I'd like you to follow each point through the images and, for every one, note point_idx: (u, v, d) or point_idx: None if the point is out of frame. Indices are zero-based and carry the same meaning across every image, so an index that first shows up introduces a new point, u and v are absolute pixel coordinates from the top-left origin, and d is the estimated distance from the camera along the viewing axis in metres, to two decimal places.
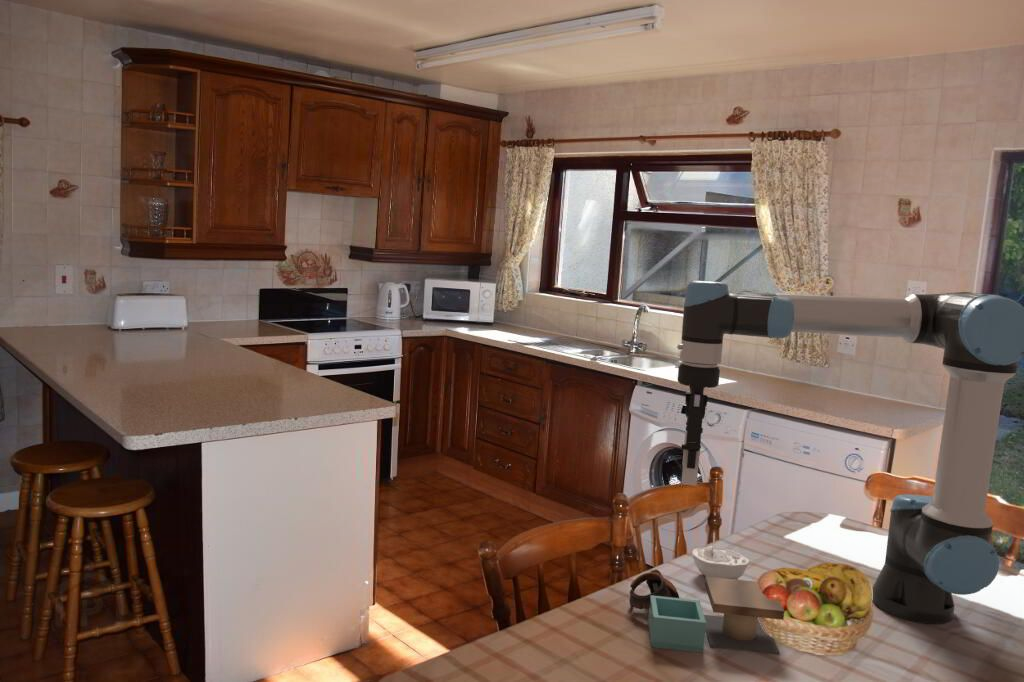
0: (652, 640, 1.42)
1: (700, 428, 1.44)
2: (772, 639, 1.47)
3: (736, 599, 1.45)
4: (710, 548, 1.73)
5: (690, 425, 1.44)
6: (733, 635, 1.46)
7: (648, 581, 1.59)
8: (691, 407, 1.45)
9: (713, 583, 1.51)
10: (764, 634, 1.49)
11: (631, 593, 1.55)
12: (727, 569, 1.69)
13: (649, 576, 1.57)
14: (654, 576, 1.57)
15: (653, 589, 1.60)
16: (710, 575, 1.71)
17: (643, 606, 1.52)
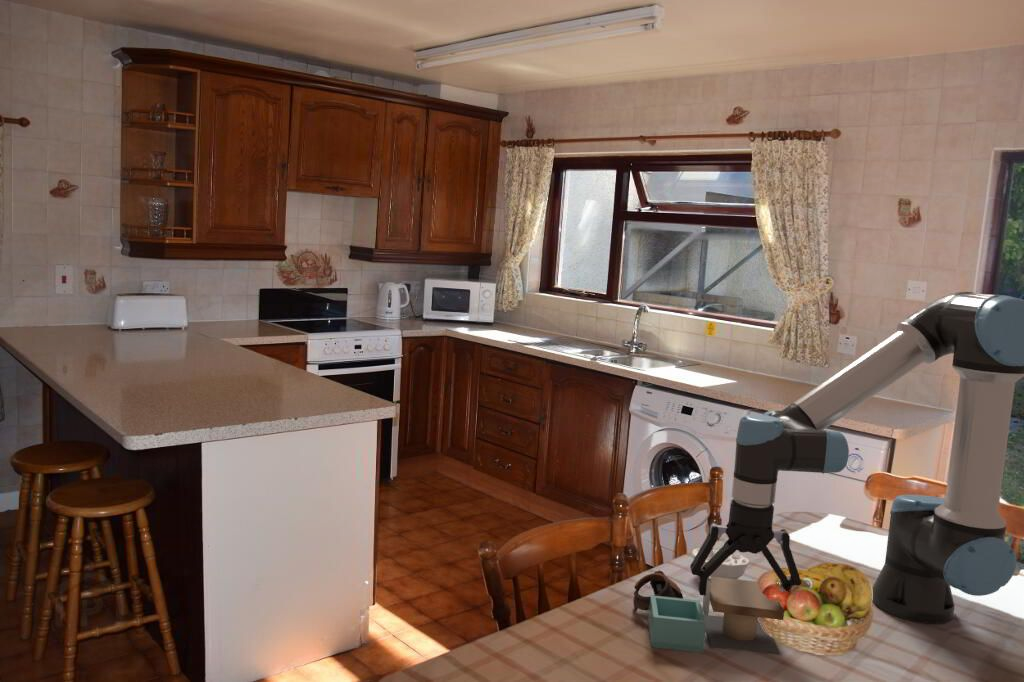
0: (652, 640, 1.42)
1: (700, 555, 1.47)
2: (772, 639, 1.47)
3: (736, 599, 1.45)
4: None
5: (700, 549, 1.49)
6: (733, 635, 1.46)
7: (651, 582, 1.59)
8: (708, 534, 1.48)
9: (713, 582, 1.51)
10: (764, 634, 1.49)
11: (635, 594, 1.54)
12: (727, 569, 1.69)
13: (653, 577, 1.57)
14: (658, 577, 1.56)
15: (657, 590, 1.60)
16: (710, 575, 1.71)
17: (647, 607, 1.52)
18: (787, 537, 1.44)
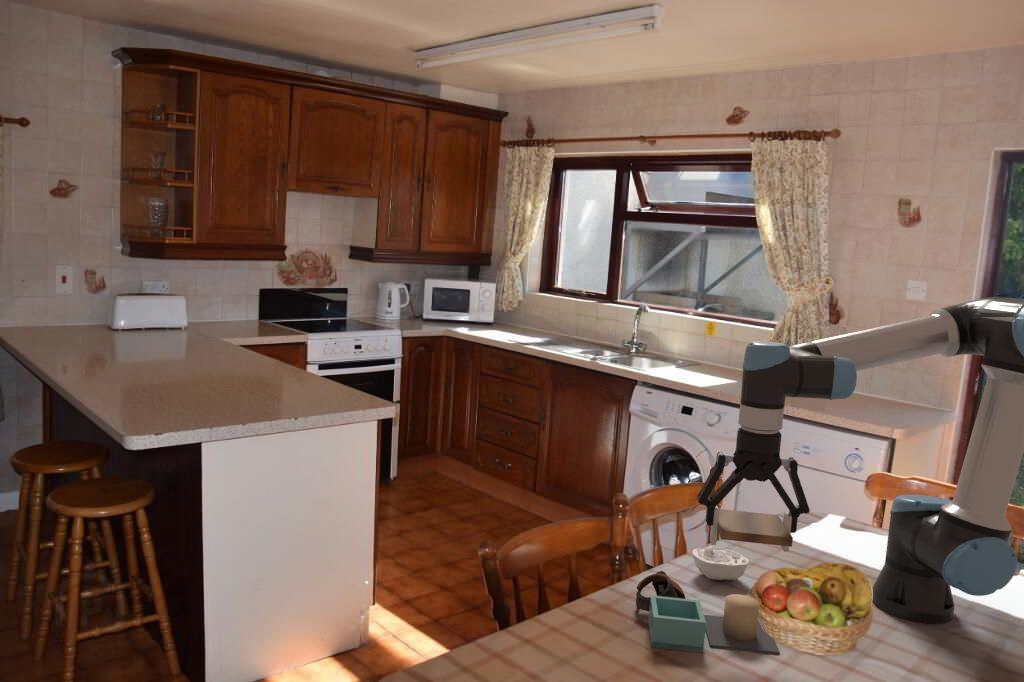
0: (652, 640, 1.42)
1: (707, 484, 1.45)
2: (772, 639, 1.47)
3: (744, 527, 1.43)
4: (710, 548, 1.73)
5: (707, 479, 1.47)
6: (733, 635, 1.46)
7: (653, 583, 1.59)
8: (715, 464, 1.46)
9: (720, 514, 1.50)
10: (764, 634, 1.49)
11: (638, 595, 1.54)
12: (727, 569, 1.69)
13: (655, 578, 1.57)
14: (660, 577, 1.56)
15: (659, 591, 1.60)
16: (710, 575, 1.71)
17: None
18: (795, 464, 1.43)
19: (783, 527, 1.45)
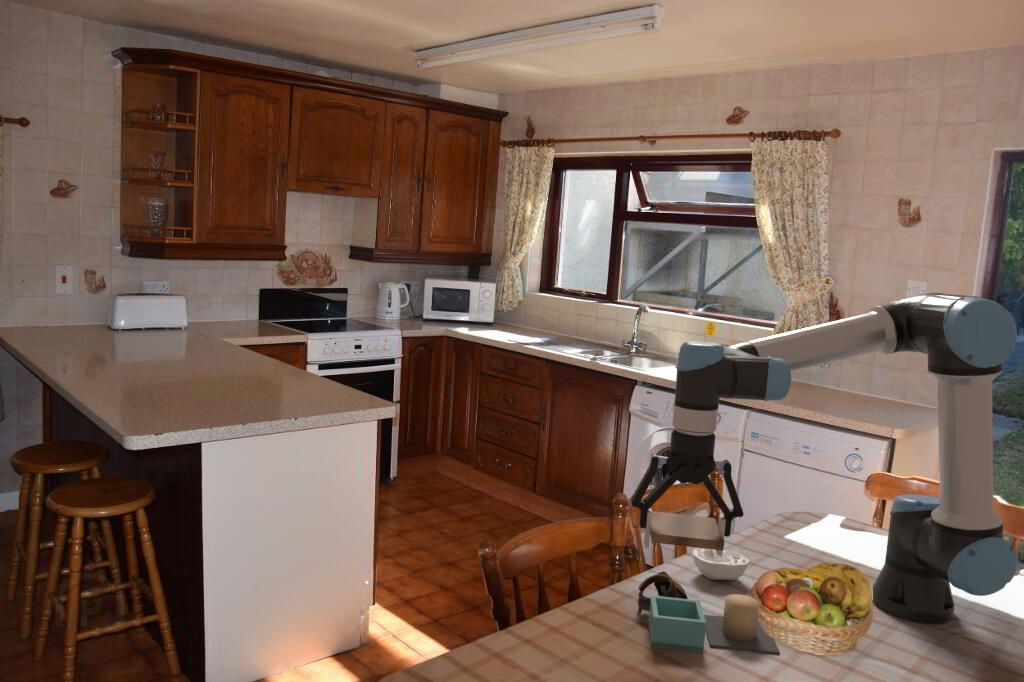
0: (652, 640, 1.42)
1: (640, 486, 1.42)
2: (772, 639, 1.47)
3: (676, 530, 1.40)
4: None
5: None
6: (733, 635, 1.46)
7: (655, 583, 1.59)
8: None
9: (655, 516, 1.47)
10: (764, 634, 1.49)
11: (640, 595, 1.54)
12: (727, 569, 1.69)
13: (657, 578, 1.57)
14: (662, 578, 1.56)
15: (661, 591, 1.59)
16: (710, 575, 1.71)
17: None
18: (729, 467, 1.40)
19: (717, 530, 1.42)
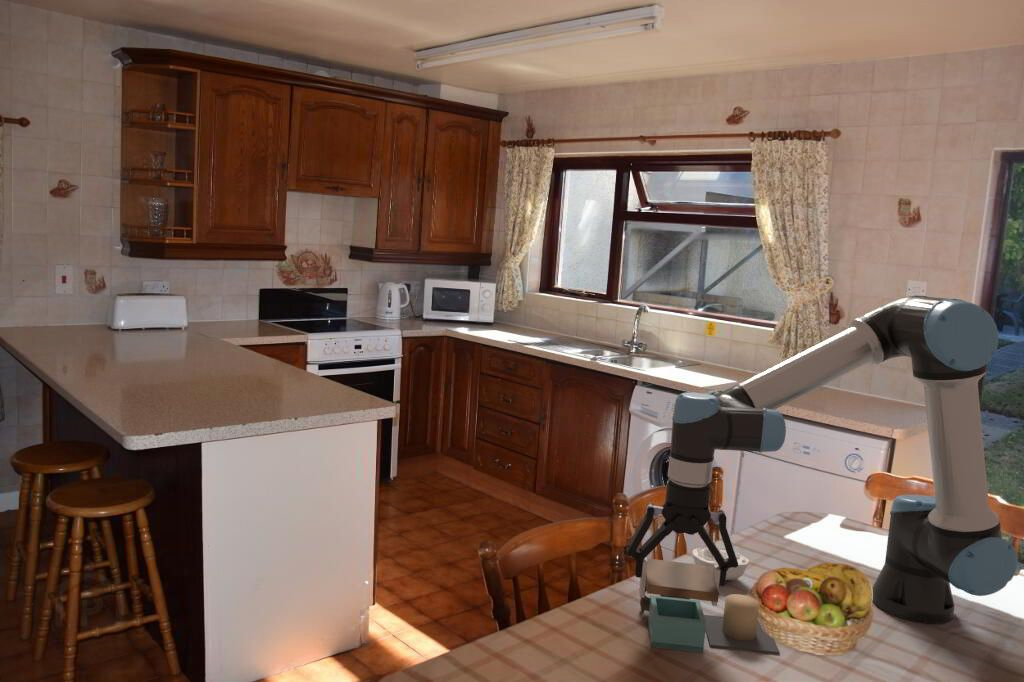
0: (652, 640, 1.42)
1: (635, 536, 1.44)
2: (772, 639, 1.47)
3: (671, 580, 1.42)
4: None
5: (636, 531, 1.45)
6: (733, 635, 1.46)
7: None
8: (645, 515, 1.45)
9: (650, 565, 1.48)
10: (764, 634, 1.49)
11: None
12: None
13: None
14: None
15: None
16: None
17: None
18: (724, 518, 1.41)
19: (712, 580, 1.43)
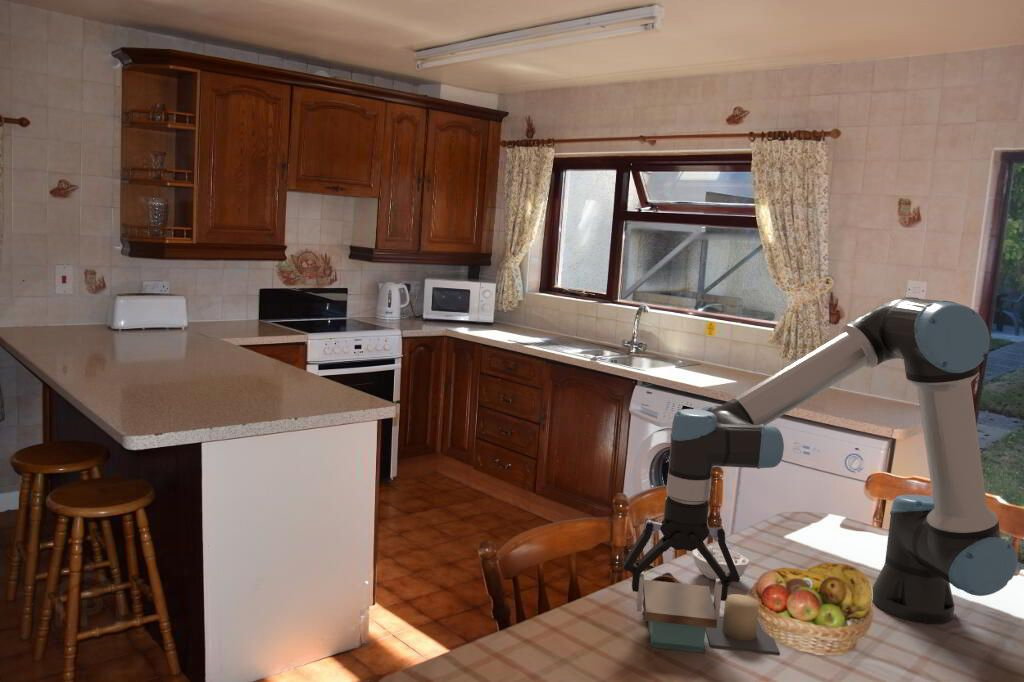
0: (652, 640, 1.42)
1: (633, 551, 1.44)
2: (772, 639, 1.47)
3: (670, 606, 1.42)
4: (710, 548, 1.73)
5: (634, 545, 1.46)
6: (733, 635, 1.46)
7: None
8: (643, 530, 1.45)
9: (649, 588, 1.48)
10: (764, 634, 1.49)
11: None
12: (727, 569, 1.69)
13: (662, 579, 1.56)
14: (667, 579, 1.56)
15: None
16: (710, 575, 1.71)
17: None
18: (722, 533, 1.42)
19: (710, 604, 1.43)
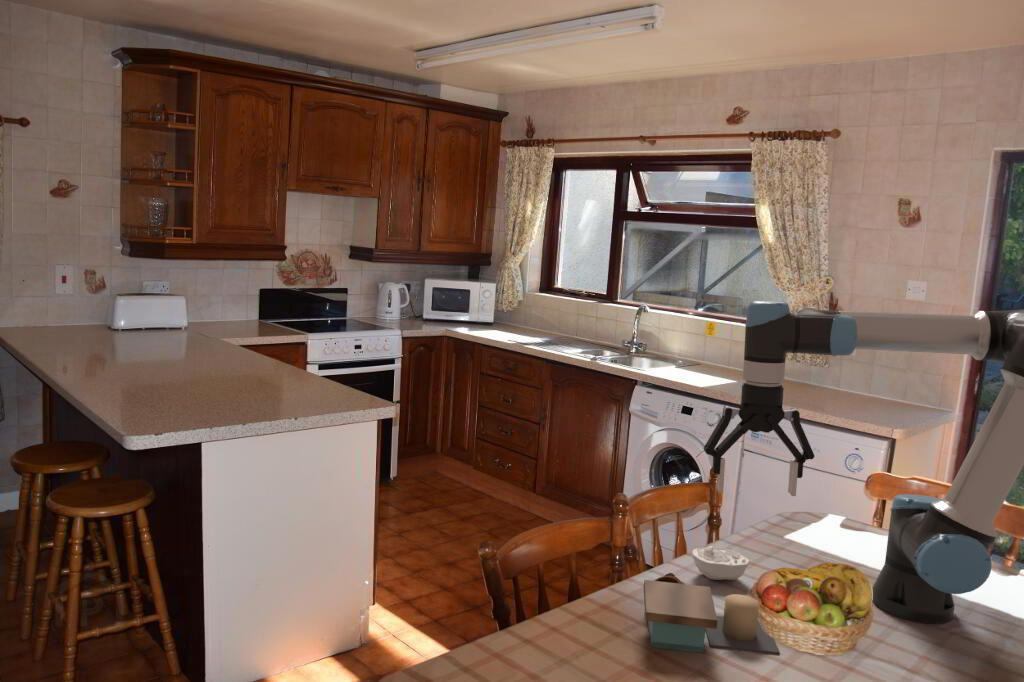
0: (652, 640, 1.42)
1: (714, 435, 1.54)
2: (772, 639, 1.47)
3: (670, 606, 1.42)
4: (710, 548, 1.73)
5: (713, 431, 1.56)
6: (733, 635, 1.46)
7: None
8: (722, 417, 1.55)
9: (650, 588, 1.48)
10: (764, 634, 1.49)
11: None
12: (727, 569, 1.69)
13: (665, 580, 1.56)
14: (670, 580, 1.56)
15: None
16: (710, 575, 1.71)
17: None
18: (797, 414, 1.52)
19: (711, 605, 1.43)
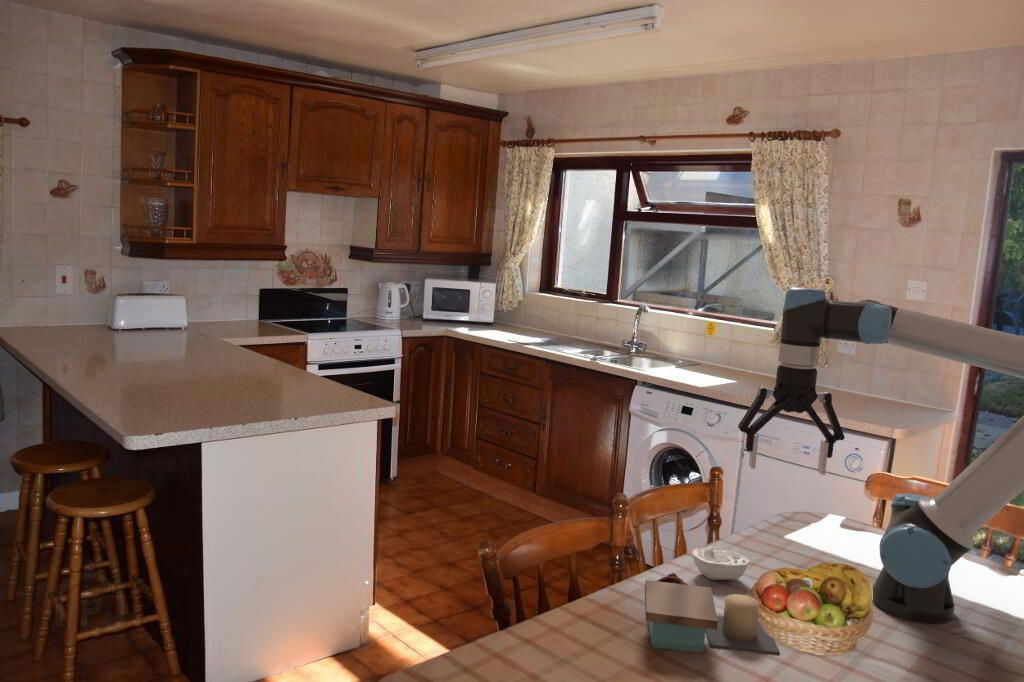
0: (652, 640, 1.42)
1: (748, 414, 1.62)
2: (772, 639, 1.47)
3: (670, 607, 1.42)
4: (710, 548, 1.73)
5: (748, 410, 1.64)
6: (733, 635, 1.46)
7: None
8: (757, 396, 1.63)
9: (651, 588, 1.48)
10: (764, 634, 1.49)
11: None
12: (727, 569, 1.69)
13: (668, 580, 1.56)
14: (673, 580, 1.55)
15: None
16: (710, 575, 1.71)
17: None
18: (829, 396, 1.60)
19: (712, 606, 1.43)
